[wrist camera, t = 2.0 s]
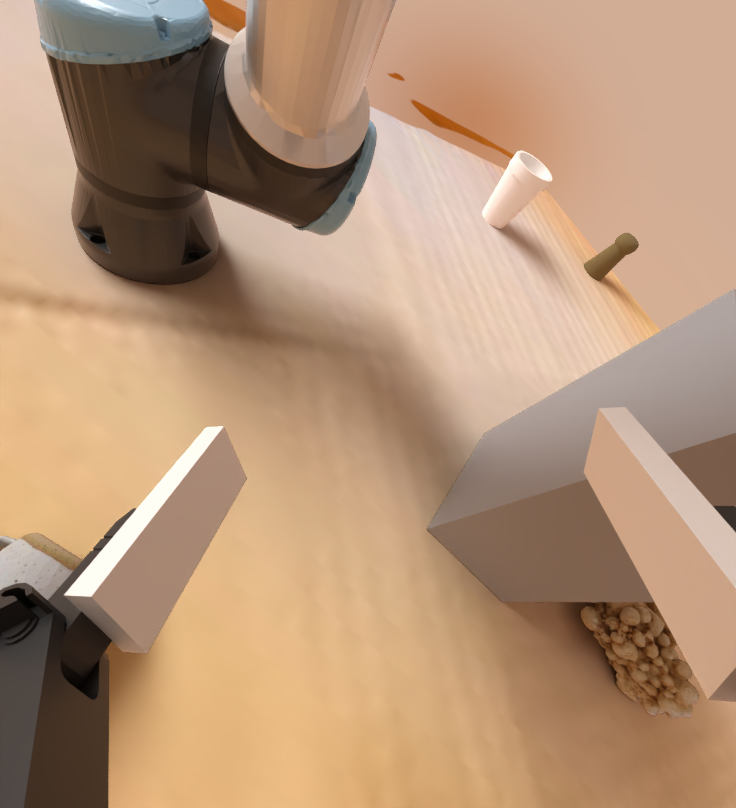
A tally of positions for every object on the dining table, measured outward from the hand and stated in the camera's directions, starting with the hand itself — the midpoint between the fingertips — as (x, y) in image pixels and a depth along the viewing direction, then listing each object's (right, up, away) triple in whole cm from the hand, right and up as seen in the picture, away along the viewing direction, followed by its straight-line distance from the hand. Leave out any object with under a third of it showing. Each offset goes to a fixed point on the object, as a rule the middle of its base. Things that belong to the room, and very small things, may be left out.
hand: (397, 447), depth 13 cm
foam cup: (+29, +46, +73) cm, 91 cm away
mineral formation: (+29, -26, +33) cm, 51 cm away
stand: (+15, -12, +34) cm, 39 cm away
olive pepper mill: (+59, +37, +82) cm, 107 cm away
